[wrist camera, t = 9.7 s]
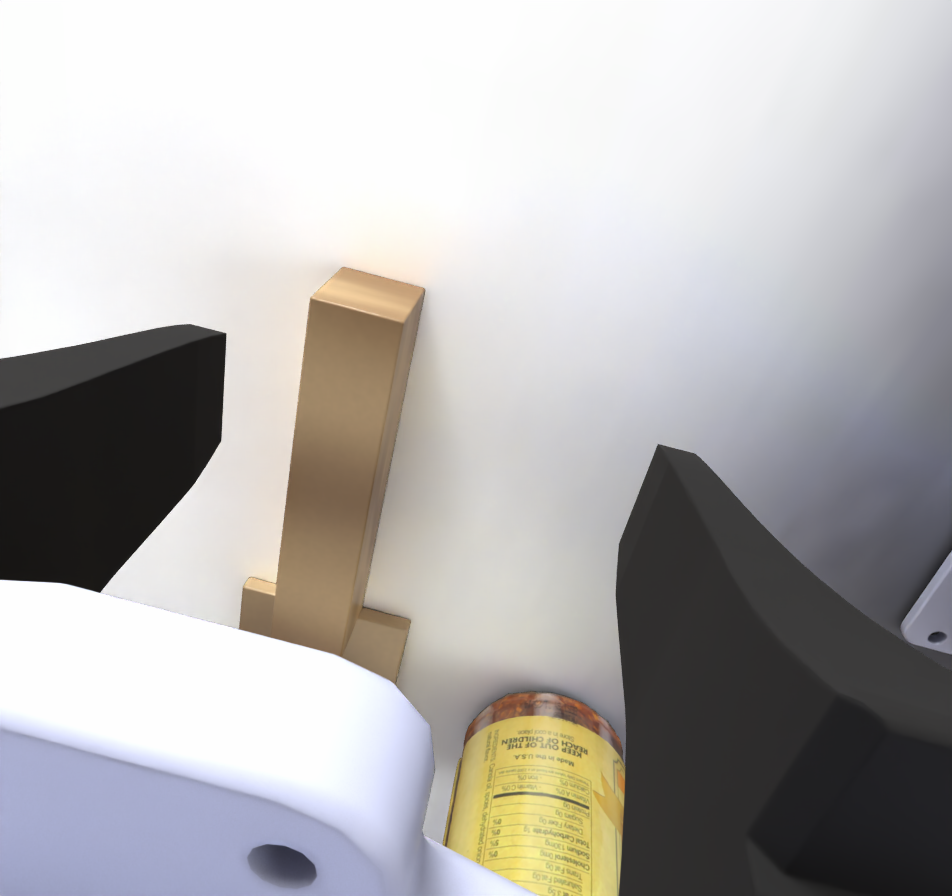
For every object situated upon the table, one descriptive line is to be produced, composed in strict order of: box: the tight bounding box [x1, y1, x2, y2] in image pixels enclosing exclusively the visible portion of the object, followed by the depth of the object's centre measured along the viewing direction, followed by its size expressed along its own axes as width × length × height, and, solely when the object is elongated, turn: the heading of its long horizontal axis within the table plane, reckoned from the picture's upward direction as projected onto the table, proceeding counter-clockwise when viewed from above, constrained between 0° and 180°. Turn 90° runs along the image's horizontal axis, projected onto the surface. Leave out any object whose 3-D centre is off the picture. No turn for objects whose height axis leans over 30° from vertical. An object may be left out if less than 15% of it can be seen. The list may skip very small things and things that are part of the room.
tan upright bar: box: [239, 267, 425, 685], centre depth 25 cm, size 20×6×3 cm, turn 167°
